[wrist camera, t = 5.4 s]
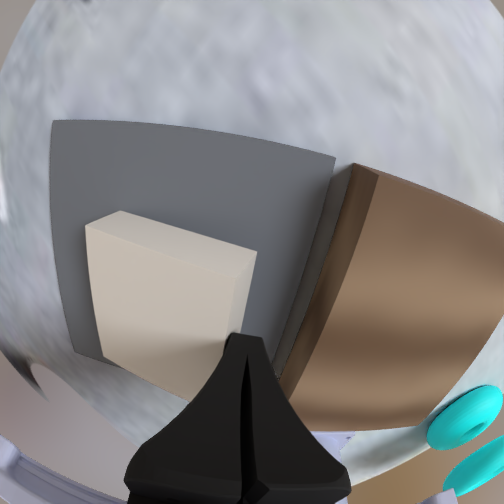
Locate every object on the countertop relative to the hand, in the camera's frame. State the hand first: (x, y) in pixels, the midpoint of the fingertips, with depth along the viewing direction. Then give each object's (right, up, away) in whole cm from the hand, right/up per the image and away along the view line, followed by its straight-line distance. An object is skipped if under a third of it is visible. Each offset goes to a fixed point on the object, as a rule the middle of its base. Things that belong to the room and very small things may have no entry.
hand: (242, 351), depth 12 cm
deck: (+9, 0, +4) cm, 10 cm away
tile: (-3, +2, +2) cm, 4 cm away
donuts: (+24, -13, +10) cm, 29 cm away
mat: (-4, +3, +3) cm, 6 cm away
